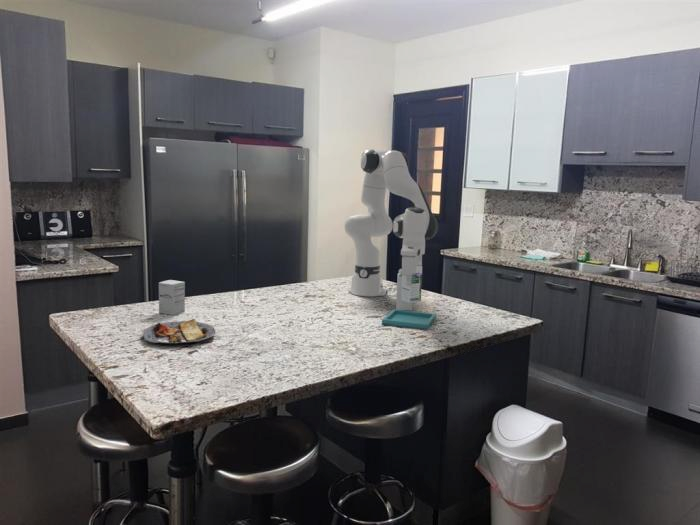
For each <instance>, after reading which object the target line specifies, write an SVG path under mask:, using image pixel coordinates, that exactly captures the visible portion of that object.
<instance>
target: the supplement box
mask: <svg viewBox="0 0 700 525" xmlns="http://www.w3.org/2000/svg"><path fill="white" fill-rule="evenodd" d="M185 285H186V282H185V281H180V280H173V279H168V280H167V279H166V280H163V281H160V282H158V313H159V314H166V315H170V316H177V315H179V314H182V313H184V312H185V310H186V303H185V302H186V301H185V300H186V299H185V298H186V297H185V296H186V295H185V294H186V292H185V291H186V286H185Z"/></svg>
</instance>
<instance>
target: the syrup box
mask: <svg viewBox="0 0 700 525" xmlns="http://www.w3.org/2000/svg"><path fill="white" fill-rule="evenodd" d="M422 283H423V265H422V266H420V265H417V266H416V273H415V274H413V275H412V285H411V286H407V280H406V276H404V275H403V273H402V300H403V301H406V302H409V303H411V302H413V303H417V302H421V301H422V285H423V284H422Z"/></svg>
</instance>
